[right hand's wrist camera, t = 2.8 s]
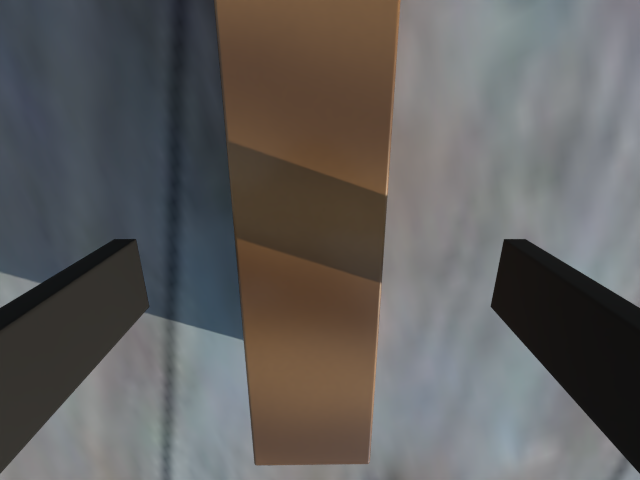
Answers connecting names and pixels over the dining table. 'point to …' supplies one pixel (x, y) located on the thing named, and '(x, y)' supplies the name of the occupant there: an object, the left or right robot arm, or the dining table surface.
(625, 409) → the right robot arm
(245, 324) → the bar
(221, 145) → the dining table surface
